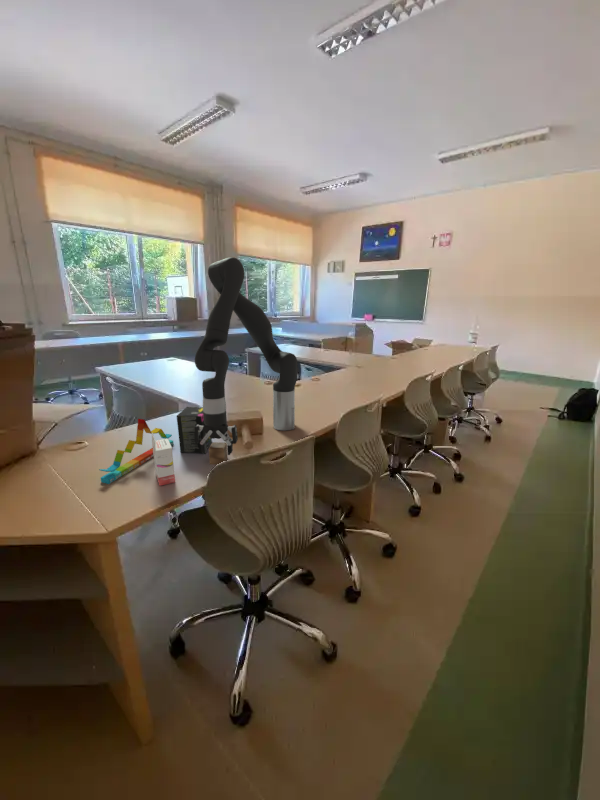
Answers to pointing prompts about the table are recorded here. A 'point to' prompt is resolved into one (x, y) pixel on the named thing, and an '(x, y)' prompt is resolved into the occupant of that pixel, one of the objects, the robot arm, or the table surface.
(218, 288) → the robot arm
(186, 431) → the tampon box
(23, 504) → the table surface
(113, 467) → the chart
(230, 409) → the table surface
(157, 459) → the ink cartridge box
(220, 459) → the walnut block
